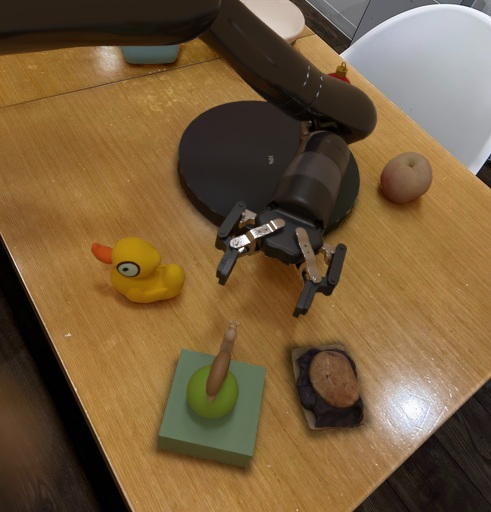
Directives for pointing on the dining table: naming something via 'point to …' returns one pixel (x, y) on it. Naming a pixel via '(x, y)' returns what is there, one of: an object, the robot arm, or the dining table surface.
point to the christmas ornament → (341, 73)
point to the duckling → (140, 270)
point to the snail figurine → (215, 382)
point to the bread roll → (327, 387)
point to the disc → (246, 161)
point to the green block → (213, 430)
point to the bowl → (279, 17)
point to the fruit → (406, 177)
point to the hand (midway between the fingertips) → (259, 297)
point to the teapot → (150, 54)
